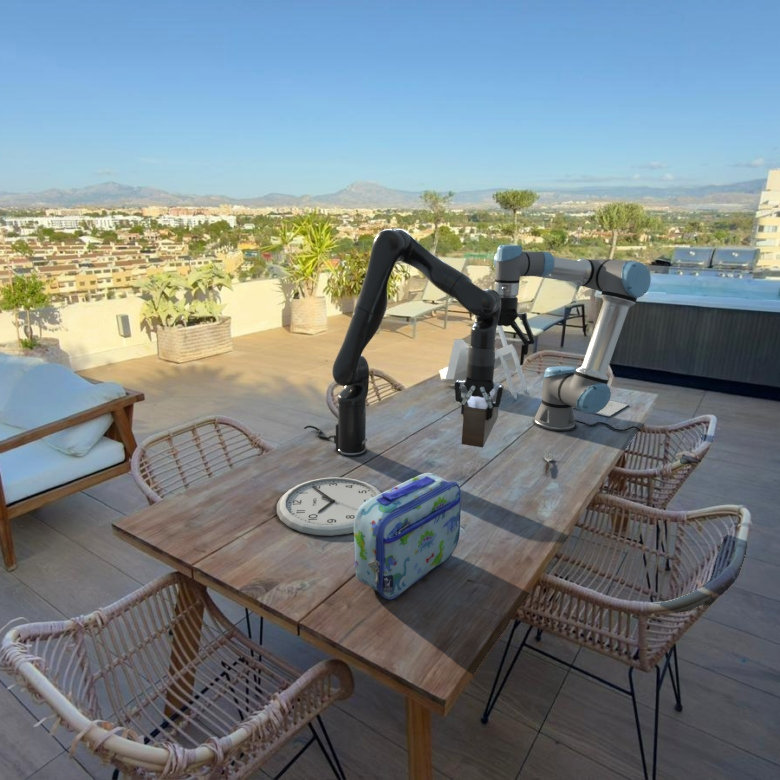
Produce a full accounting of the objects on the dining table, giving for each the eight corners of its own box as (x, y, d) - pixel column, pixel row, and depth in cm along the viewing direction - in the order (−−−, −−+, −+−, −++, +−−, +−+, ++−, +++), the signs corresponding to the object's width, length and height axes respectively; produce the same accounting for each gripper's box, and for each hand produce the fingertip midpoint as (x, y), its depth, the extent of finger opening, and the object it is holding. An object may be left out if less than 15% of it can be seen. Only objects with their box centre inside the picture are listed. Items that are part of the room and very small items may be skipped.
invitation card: (608, 416, 214) (573, 407, 224) (608, 416, 214) (573, 408, 224) (628, 404, 229) (594, 396, 238) (628, 405, 229) (594, 397, 238)
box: (479, 414, 176) (481, 380, 173) (497, 416, 174) (501, 383, 171) (461, 444, 152) (464, 406, 148) (482, 447, 150) (486, 409, 146)
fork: (541, 474, 162) (542, 468, 162) (545, 454, 177) (545, 449, 176) (550, 476, 162) (550, 470, 161) (553, 456, 176) (553, 450, 175)
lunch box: (382, 612, 103) (384, 519, 97) (347, 586, 110) (346, 498, 104) (464, 557, 121) (469, 475, 114) (429, 538, 128) (432, 460, 122)
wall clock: (392, 527, 129) (268, 531, 127) (391, 533, 130) (269, 537, 127) (383, 473, 158) (282, 475, 155) (383, 478, 158) (282, 480, 156)
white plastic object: (461, 429, 252) (437, 405, 227) (444, 352, 274) (420, 323, 250) (535, 404, 240) (518, 377, 215) (510, 326, 262) (492, 293, 237)
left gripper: (452, 362, 146) (449, 418, 151) (504, 367, 141) (499, 425, 146) (458, 356, 152) (455, 410, 157) (508, 361, 148) (503, 417, 153)
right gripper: (463, 295, 164) (460, 360, 171) (545, 300, 156) (538, 369, 162) (469, 292, 171) (465, 355, 177) (548, 297, 162) (541, 363, 169)
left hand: (476, 417), depth 152 cm, fingers closed on box, 6 cm apart
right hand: (500, 362), depth 170 cm, fingers open, 13 cm apart
